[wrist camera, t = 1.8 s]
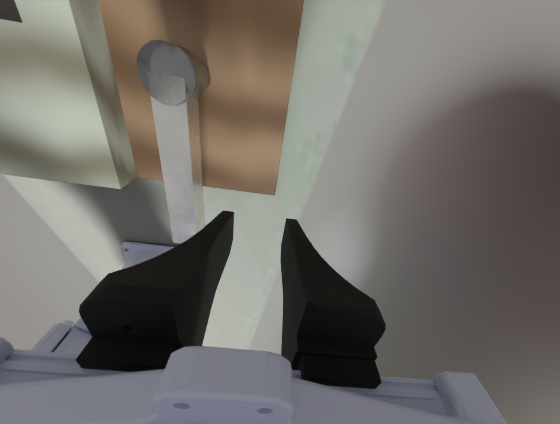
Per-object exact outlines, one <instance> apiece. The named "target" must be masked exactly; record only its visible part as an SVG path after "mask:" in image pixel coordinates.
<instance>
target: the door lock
mask: <svg viewBox="0 0 560 424" xmlns="http://www.w3.org/2000/svg"><path fill="white" fill-rule="evenodd" d="M303 2H304V0H0V174H5V175H13V176H21V177H28V178H36V179H44V180H52V181H60V182H68V183H76V184H84V185H92V186H100V187H108V188H115V189H122V188H123V187H125V186H126V185H127V184H129V183H130V182H132V181H133V180H135V179H136V178H145V179H153V180H161V181H163V174H162V168H161V161H160V155H159V148H158V142H157V136H156V129H155V123H154V116H153V110H152V103H151V97H150V95H149V93H148V92H147V91H146V90H145V88H144V87H143V85H142V83H141V81H140V79H139V76H138V73H137V66H136V61H137V56H138V53H139V50H140V49H141V47H142V46H143V45H144V44H146V43H147V42H149V41H152V40H163V41H167V42H170V43H173V44H176V45H179V46H182V47H185V48H186V49H188V50H190V51H191V52H192V53H193V54H194V55H195V56H196V57H197V59H198V60H199V62H200V63H201V65H202V68H203V71H204V75H205V86H204V90H203V92H202V94H201V95H200V97H199V98H198V109H199V128H200V147H201V166H202V185H203V186H207V187H214V188H222V189H230V190H237V191H245V192H253V193H260V194H268V195H275V192H276V185H277V178H278V171H279V165H280V158H281V151H282V144H283V137H284V131H285V124H286V117H287V110H288V104H289V97H290V90H291V83H292V76H293V70H294V63H295V56H296V49H297V42H298V36H299V29H300V22H301V15H302V9H303Z"/></svg>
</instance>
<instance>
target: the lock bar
mask: <svg viewBox="0 0 560 424" xmlns="http://www.w3.org/2000/svg"><path fill="white" fill-rule="evenodd" d="M136 66H137V73H138V76H139V79H140V81H141V83H142V85H143V87H144V88H145V90H146V91H147V92H148V93H149V95H150V97H151V103H152V110H153V116H154V123H155V129H156V136H157V142H158V148H159V155H160V161H161V168H162V174H163V181H164V187H165V193H166V200H167V206H168V213H169V219H170V226H171V232H172V238H173V243H183V242H185V241H186V240H188V239H189V238H191V237H192V236H193V235H195V234H196V233H197V232H199V231H200V230H201V229H203V228H204V227H205V223H204V204H203V185H202V166H201V147H200V128H199V109H198V98H199V97H200V95H201V94H202V92H203V90H204V86H205V75H204V71H203V68H202V65H201V63H200V62H199V60H198V59H197V57H196V56H195V55H194V54H193V53H192V52H191V51H190V50H188V49H186V48H185V47H182V46H179V45H176V44H173V43H170V42H167V41H163V40H152V41H149V42H147V43H146V44H144V45H143V46H142V47H141V49H140V50H139V53H138V56H137V61H136Z"/></svg>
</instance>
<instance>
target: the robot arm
mask: <svg viewBox="0 0 560 424" xmlns="http://www.w3.org/2000/svg"><path fill="white" fill-rule="evenodd" d="M233 224H234V212H230V211H222V212H221V213H220V214H219V215H218V216H217V217H216V218H214V219H213V220H212V221H211V222H210V223H209V224H207V225H206V226H205V227H204V228H203V229H201V230H200V231H199V232H197V233H196V234H195V235H193V236H192V237H191V238H189V239H188V240H186V241H185V242H183V243H181V244H180V245H178V246H176V247H171V246H162V245H153V244H144V243H134V242H123V243H122V244H121V247H122V250H123V253H124V256H125V259H126V262H127V264H126V265H125V266H124V267H123V269H122V270H119V271H116V272H113V273H109V274H108V275H107V276H106V277H105V278H104V279H103V280H102V281H101V282H100V283H99V284H98V285H97V287H95V289H94V290H93V291H92V292H91V293H90V294H89V296H88V297H87V298H86V299H85V300H84V301H83V302H82V304H81V305H80V308H79V313H80V315H81V318H80V319H79V320H78V321H77V322H76V323H75V324H74V322H72V321H70V320H66V321H65V322H64V323H59V324H55V325H54V326H53V327H52V328H51V329H50V330H49V331H48V332H47V333H46V334H45V335H44V336H43V337H42V338H41V339H40V340H39V342H38V343H37V344H36V345H35V346H34V347H33V348H32V349H31V350H18V349H14V348H13V346H12V345H11V343H10V342H9V341H7V340H6V339H4V338H1V337H0V424H507V423H506V422H505V420H504V419H503V418H502V416H501V414H500V412H499V411H498V409H497V408H496V407H495V405H494V403H493V402H492V400H491V399H490V397H489V396H488V394H487V392H486V391H485V390H484V388H483V386H482V385H481V383H480V382H479V380H478V379H477V377H476V376H475V375H474V374H472V373H462V372H443V373H440V374H438V375H437V376H436V377H435V378H434V380H419V379H406V378H393V377H392V378H391V377H380V375H379V372H378V369H377V366H376V363H375V359H376V358H377V355H376V352H375V349H374V346H375V345H376V343H377V342H378V341H379V339H380V338H381V337H382V335H383V333H384V331H385V322H384V320H383V317H382V315H381V312H380V310H379V308H378V307H377V304H376V302H375V300H373V299H372V298H370V297H369V296H367V295H366V294H364V293H363V292H361V291H360V290H358V289H357V288H355V287H354V286H353V285H352V284H350V283H349V282H348V281H346V280H345V279H344V278H343V277H341V276H340V275H339V274H338V273H337V272H336V271H335V270H333V268H332V267H331V266H329V265H328V263H327V262H326V261H325V260H324V259H323V258H322V257H321V256H320V255H319V253H318V252H317V251H316V249H314V247H313V246H312V244H311V243H310V241H309V240H308V238H307V237H306V235H305V233H304V232H303V230H302V228H301V226H300V224H299V223H298V221H297V220H295V219H287V218H286V223H285V228H284V234H283V239H282V244H281V272H282V283H283V326H282V327H283V328H282V351H281V355H280V354H276V353H272V352H267V351H255V350H243V349H231V348H218V347H206V346H202V343H203V339H204V335H205V331H206V327H207V323H208V319H209V315H210V311H211V307H212V303H213V299H214V296H215V292H216V289H217V286H218V283H219V281H220V278H221V275H222V273H223V270H224V267H225V265H226V262H227V259H228V257H229V254H230V250H231V246H232V241H233ZM73 324H74V325H73ZM72 325H73V326H72Z"/></svg>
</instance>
